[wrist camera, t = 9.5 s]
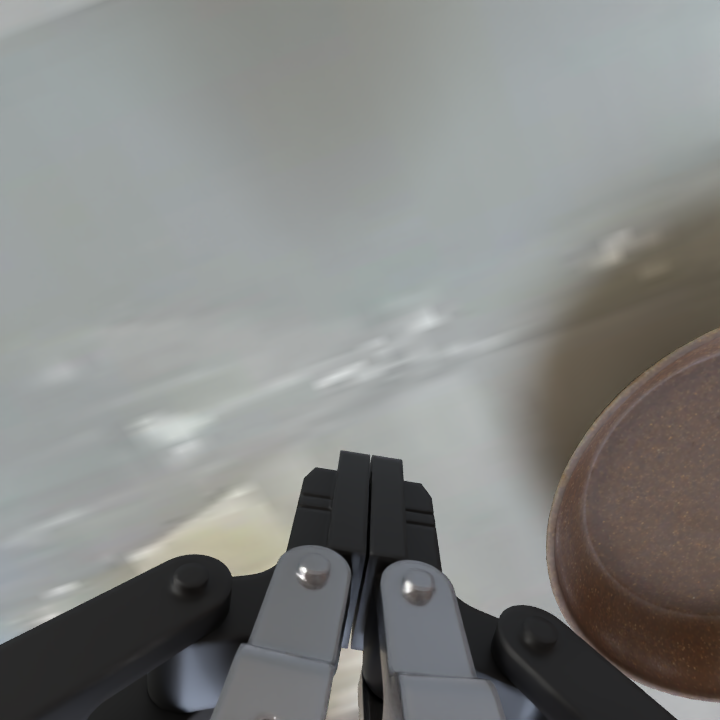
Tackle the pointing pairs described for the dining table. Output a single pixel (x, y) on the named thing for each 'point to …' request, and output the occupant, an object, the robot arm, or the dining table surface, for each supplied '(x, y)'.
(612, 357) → the dining table surface
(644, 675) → the saucer
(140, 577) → the robot arm
